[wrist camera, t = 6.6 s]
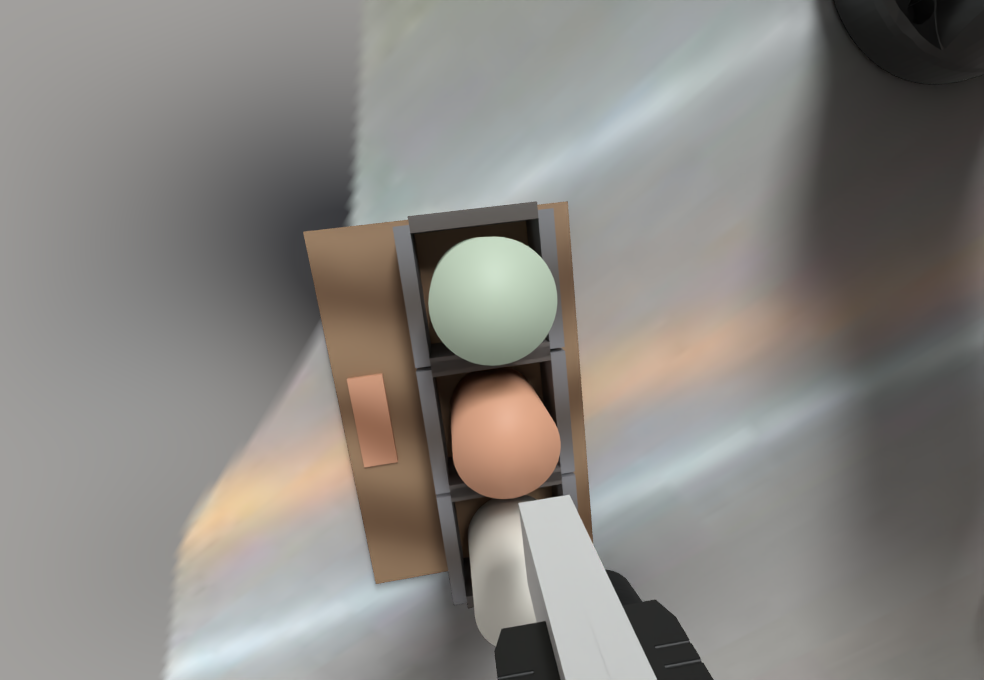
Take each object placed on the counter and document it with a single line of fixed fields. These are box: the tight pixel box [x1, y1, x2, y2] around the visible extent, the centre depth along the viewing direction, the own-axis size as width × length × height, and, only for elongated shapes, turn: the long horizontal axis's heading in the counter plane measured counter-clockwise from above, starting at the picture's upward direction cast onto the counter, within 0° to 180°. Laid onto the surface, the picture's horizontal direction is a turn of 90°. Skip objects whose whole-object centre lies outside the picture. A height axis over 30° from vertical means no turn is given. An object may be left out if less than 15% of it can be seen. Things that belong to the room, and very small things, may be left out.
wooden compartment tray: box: [303, 201, 593, 608], centre depth 24 cm, size 20×13×4 cm, turn 7°
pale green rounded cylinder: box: [428, 237, 557, 366], centre depth 18 cm, size 5×5×5 cm
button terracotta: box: [450, 367, 561, 499], centre depth 21 cm, size 5×5×5 cm
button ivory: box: [468, 495, 537, 647], centre depth 21 cm, size 5×5×5 cm
